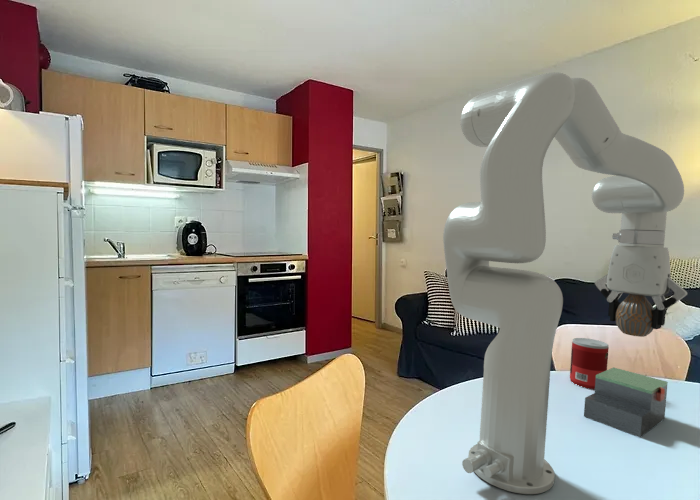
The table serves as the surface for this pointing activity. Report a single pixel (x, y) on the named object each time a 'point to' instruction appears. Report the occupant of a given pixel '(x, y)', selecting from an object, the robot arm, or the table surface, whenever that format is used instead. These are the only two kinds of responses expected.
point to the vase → (635, 316)
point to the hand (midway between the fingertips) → (634, 323)
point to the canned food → (587, 361)
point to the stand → (627, 401)
